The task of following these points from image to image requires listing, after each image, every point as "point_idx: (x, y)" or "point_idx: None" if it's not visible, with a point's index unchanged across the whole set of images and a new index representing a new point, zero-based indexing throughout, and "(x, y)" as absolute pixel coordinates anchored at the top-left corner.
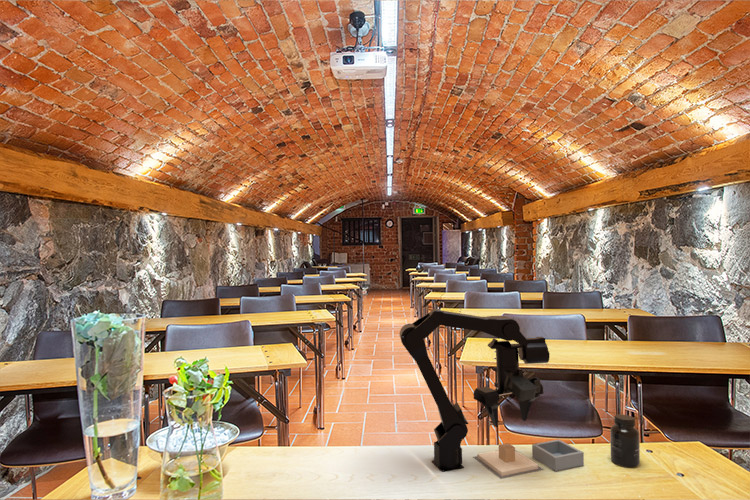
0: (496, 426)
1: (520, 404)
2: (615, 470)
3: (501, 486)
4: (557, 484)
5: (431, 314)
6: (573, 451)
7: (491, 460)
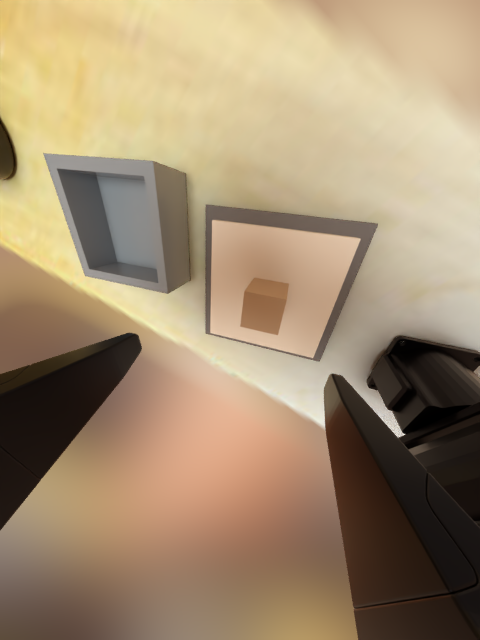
0: (344, 378)
1: (67, 432)
2: (19, 101)
3: (417, 184)
4: (228, 92)
5: None
6: (75, 199)
7: (312, 315)
